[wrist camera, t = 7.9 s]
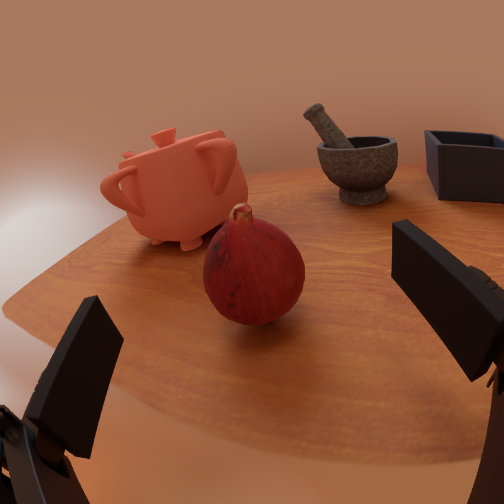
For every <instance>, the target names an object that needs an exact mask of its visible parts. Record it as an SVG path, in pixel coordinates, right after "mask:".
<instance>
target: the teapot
mask: <svg viewBox="0 0 504 504" xmlns="http://www.w3.org/2000/svg"><path fill="white" fill-rule="evenodd" d="M175 132H176V131H175V128H169V129H165V130H162V131H159V132H157V133H155V134H153V135H152V136H151V138H152V139H153V141H154V142H155V143H156V144H157V146H158V147H156V148H154V149H151V150H148V151H146V152H143V153H141V154H138V155H136V154H135V153H134V152H132V151H130V152H125V153H123V154H122V156H123V157H125V158H126V160H124V161H121V162H120V164H119V170H118V171H116V172H114V173H112V174H110V175H108V176H107V177H106V178H105V179H104V180H103V181H102V182H101V185H100V190H101V193H102V194H103V196H104V197H105V198H106V199H107V200H108V201H109V202H110V203H111V204H113V205H115V206H116V207H118V208H120V209H123V210H125V211H126V212H127V215H128V217H129V220H130V222H131V224H132V225H133V227H134V228H135V229H136V231H137V232H138V233H139V234H141V235H143V236H145V237H148V238H151V239H153V241H152V244H153V245H157V244H161V243H163V242H165V241H180V246H181V250H182V251H190V250H193V249H196V248H198V247H199V246H200V245H202V243H203V241H202V238H201V235H203V234H205V233H206V232H208V231H210V230H211V229H213V228H214V227H216V226H217V225H219V224H220V225H224V224H225V222H226V221H227V219H228V217H229V215H230V213H231V211H232V209H233V208H234V206H236V205H237V204H242V203H244V202H245V203H246V204H247V199H248V187H247V183H246V180H245V177H244V174H243V171H242V169H241V166H240V163H239V161H238V159H237V150H236V146H235V144H234V142H233V141H231V140H230V139H228V138H226V136H225V135H224V133H223V131H221V130H216V131H211V132H207V133H203V134H199V135H195V136H191V137H188V138H184V139H180V140H177V141H175ZM119 182H120V184H121V190H120V188H119V185H118V184H119Z"/></svg>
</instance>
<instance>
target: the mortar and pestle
mask: <svg viewBox="0 0 504 504" xmlns="http://www.w3.org/2000/svg"><path fill="white" fill-rule="evenodd" d="M303 116H304V117H305V119H307V120H309V121H310V122H311V123H312V125H313V126H314V128H315V130H316V131H317V133H318V134H319V136H320V137H321V139H322V140H323V143H320V145H319V146H318V147H317V151H318V156H319V160H320V164H321V166H322V169H323V171H324V173H325V174H326V176H327V177H328V178H329V180H330V181H331V182H333V183H334V184H336V185H337V186H338V187H340V192H339V197H340V200H341V201H343V202H345V203H346V204H350V205H363V206H364V205H370V204H376V203H379V202H381V201H383V200H384V199H386V198H387V194H386V188H385V184H386V183H387V182H388V181H389V180H390V179H391V178H392V177H393V175H394V172H395V170H396V168H397V159H398V149H397V142H396V141H395V139H394V138H389V137H383V136H355V137H347V138H346V136H345V135H344V134H343V133H342V132H341V130H340V129H339V128H338V127H337V125H336V124H335V123H334V122H333V121H332V120H331V118H330V117H329V116H328V115H327V114H326V113H325V111H324V107H323V106H322V105H321V104H318V103H317V104H315V105H312V106H311V107H309V108H308V109H307V110H306V111H305V113H304V115H303Z"/></svg>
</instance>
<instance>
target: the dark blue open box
mask: <svg viewBox="0 0 504 504" xmlns="http://www.w3.org/2000/svg"><path fill="white" fill-rule="evenodd" d="M424 133H425V144H426V158H427V172H428V174H429V177H430V179H431V181H432V184H433V186H434V189H435V191H436V194H437V196H438V199H439V200H461V201H480V202H496V203H504V139H502V138H500V137H498V136H496V135H494V134H484V133H472V132H455V131H430V130H425V131H424Z"/></svg>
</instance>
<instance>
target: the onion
mask: <svg viewBox="0 0 504 504" xmlns="http://www.w3.org/2000/svg"><path fill="white" fill-rule="evenodd" d="M304 280H305V265H304V262H303V260H302V257H301V254H300V252H299V251H298V249H297V248H296V246H295V245H294V243H293V242H292V240H291V239H290V237H289V236H288V235H287V234H286V233H285V232H283V231H282V230H281V229H279V228H278V227H276V226H274V225H272V224H270V223H268V222H266V221H263V220H260V219H257V218H254V217H253V215H252V209H251V207H250V206H249V205H248V204H246V203H245V202H244V203H242V204H237V205H236V206H234V208H233V209H232V211H231V213H230V215H229V217H228V219H227V221H226V222H225V224H224V225H223V226H222V227H221V228H220V229H219V230H218V232H217V233H216V234H215V235H214V237H213V239H212V240H211V242H210V244H209V247H208V249H207V252H206V256H205V261H204V271H203V281H204V287H205V292H206V293H207V295H208V297H209V298H210V300H211V302H212V303H213V305H214V306H215V308H216V309H217V310H218V312H219V313H220V314H222V315H223V316H224V317H226V318H227V319H229V320H232V321H235V322H237V323H240V324H244V325H262V324H265V323H270V322H272V321H274V320H276V319H278V318H279V317H281V316H283V315H284V314H285V313H287V312H288V311H289V310H290V309H291V308H292V307H293V305H294V304H295V303H296V302H297V301H298V298H299V296H300V294H301V292H302V289H303V284H304Z"/></svg>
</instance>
